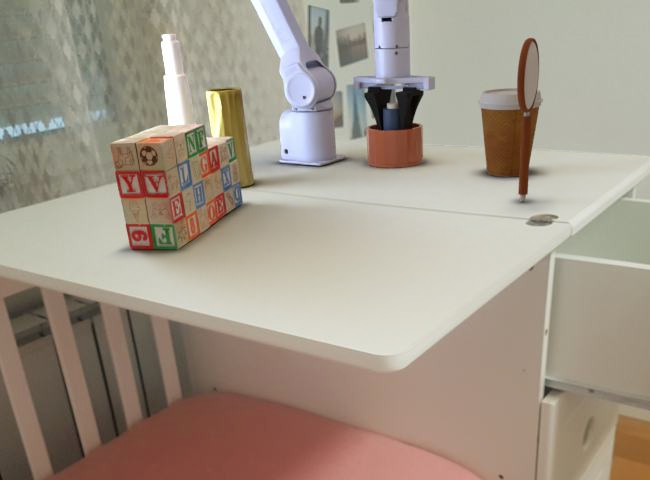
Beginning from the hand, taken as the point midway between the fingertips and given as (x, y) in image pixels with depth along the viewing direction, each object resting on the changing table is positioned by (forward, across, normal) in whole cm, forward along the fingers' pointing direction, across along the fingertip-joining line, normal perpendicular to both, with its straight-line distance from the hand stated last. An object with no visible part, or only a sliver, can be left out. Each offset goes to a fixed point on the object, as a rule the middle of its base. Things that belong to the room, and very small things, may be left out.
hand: (394, 134), depth 121 cm
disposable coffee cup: (+5, +21, -1) cm, 22 cm away
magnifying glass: (+5, +30, -17) cm, 35 cm away
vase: (+5, -15, -24) cm, 29 cm away
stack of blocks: (+5, -4, -44) cm, 44 cm away
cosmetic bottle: (+5, -26, -23) cm, 35 cm away
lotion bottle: (+2, 0, 0) cm, 2 cm away
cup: (+5, 0, 0) cm, 5 cm away
